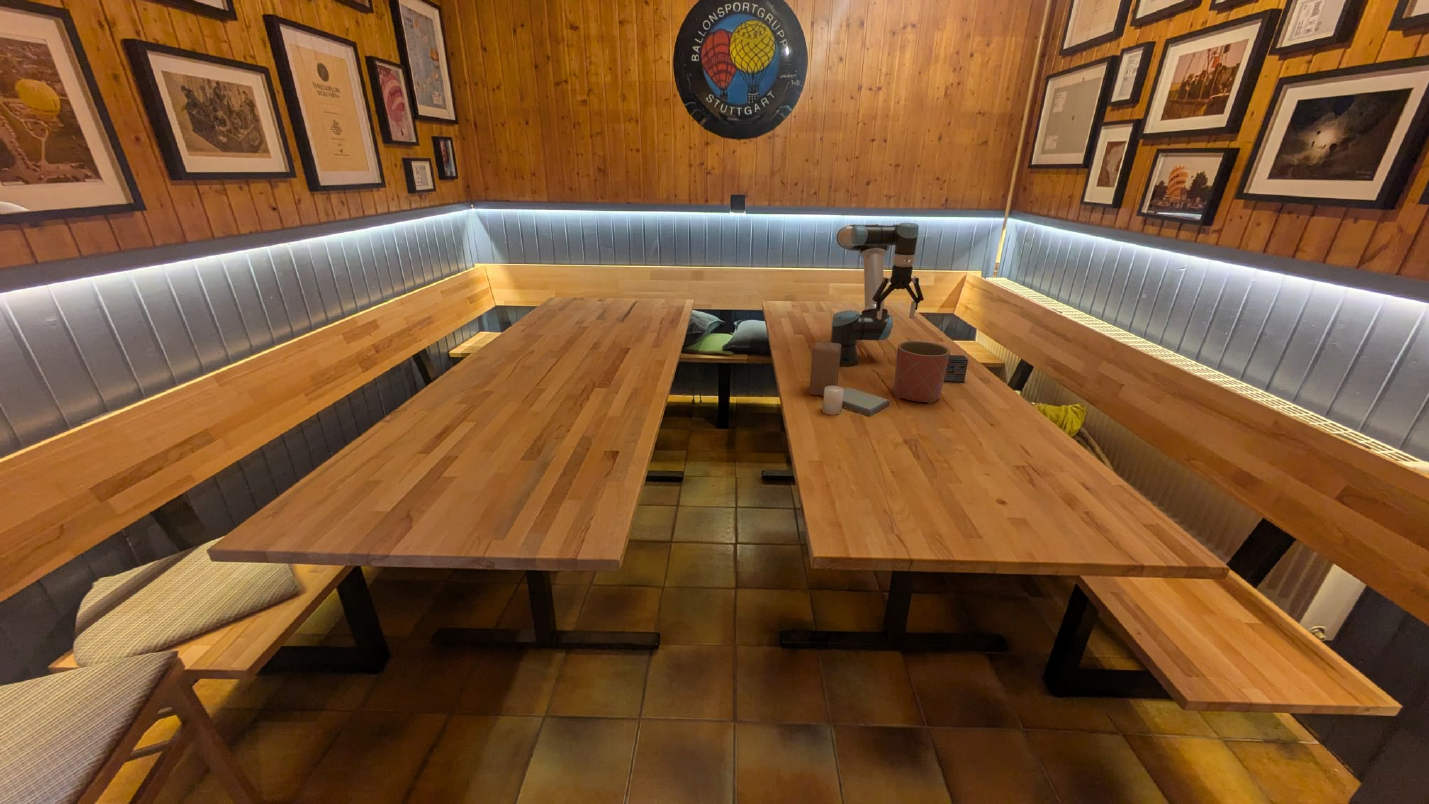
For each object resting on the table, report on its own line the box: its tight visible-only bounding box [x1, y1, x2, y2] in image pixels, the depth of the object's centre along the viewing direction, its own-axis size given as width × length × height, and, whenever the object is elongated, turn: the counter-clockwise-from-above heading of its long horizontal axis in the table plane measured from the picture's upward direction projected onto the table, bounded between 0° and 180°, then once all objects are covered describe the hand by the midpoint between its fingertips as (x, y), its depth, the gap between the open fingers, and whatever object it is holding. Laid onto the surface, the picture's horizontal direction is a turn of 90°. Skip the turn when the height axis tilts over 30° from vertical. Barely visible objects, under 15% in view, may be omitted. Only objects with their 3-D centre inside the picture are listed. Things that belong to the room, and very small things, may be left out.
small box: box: [943, 354, 969, 384], centre depth 236 cm, size 11×6×10 cm, turn 84°
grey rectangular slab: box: [842, 386, 891, 417], centre depth 214 cm, size 19×14×2 cm
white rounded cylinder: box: [822, 385, 845, 415], centre depth 206 cm, size 7×7×9 cm
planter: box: [892, 340, 951, 405], centre depth 218 cm, size 19×19×20 cm
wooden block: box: [808, 340, 841, 397], centre depth 221 cm, size 10×10×20 cm
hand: (895, 318), depth 224 cm, fingers open, 13 cm apart
